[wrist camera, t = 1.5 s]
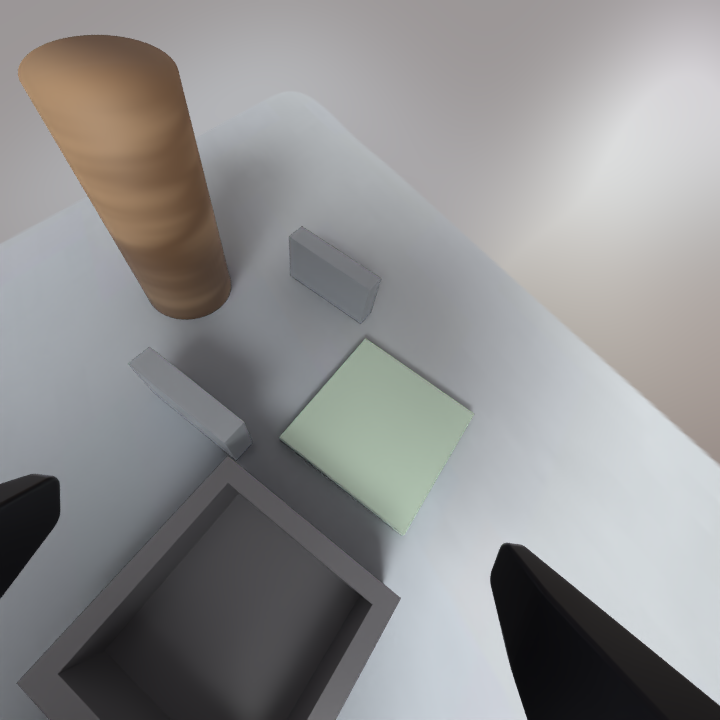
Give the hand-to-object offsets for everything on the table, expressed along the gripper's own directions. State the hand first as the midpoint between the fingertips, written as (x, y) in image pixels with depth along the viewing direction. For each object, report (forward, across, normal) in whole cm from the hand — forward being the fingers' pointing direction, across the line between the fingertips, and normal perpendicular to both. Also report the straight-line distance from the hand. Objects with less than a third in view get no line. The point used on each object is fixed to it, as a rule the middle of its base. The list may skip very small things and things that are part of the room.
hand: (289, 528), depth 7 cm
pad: (+13, -4, +4) cm, 14 cm away
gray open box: (+6, +2, +10) cm, 12 cm away
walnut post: (+18, +9, -2) cm, 20 cm away
